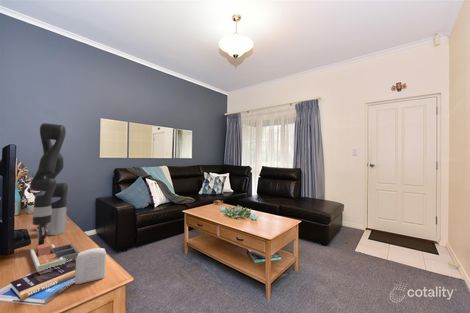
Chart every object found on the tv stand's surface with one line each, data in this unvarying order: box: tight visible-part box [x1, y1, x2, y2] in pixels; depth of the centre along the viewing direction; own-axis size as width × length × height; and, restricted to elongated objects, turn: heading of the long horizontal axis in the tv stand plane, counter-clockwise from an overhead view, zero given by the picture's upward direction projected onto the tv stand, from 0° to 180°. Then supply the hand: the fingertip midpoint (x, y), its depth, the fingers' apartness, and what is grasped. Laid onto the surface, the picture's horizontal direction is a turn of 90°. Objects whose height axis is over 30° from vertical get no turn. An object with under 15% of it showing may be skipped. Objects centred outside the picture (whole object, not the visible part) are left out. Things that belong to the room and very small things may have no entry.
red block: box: [35, 242, 51, 257], centre depth 108 cm, size 6×4×4 cm
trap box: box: [30, 243, 81, 272], centre depth 103 cm, size 30×16×4 cm, turn 49°
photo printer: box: [74, 247, 107, 285], centre depth 85 cm, size 10×4×12 cm, turn 123°
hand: (40, 246), depth 113 cm, fingers closed
